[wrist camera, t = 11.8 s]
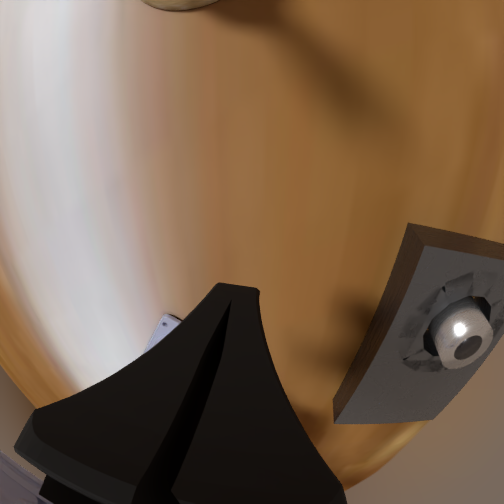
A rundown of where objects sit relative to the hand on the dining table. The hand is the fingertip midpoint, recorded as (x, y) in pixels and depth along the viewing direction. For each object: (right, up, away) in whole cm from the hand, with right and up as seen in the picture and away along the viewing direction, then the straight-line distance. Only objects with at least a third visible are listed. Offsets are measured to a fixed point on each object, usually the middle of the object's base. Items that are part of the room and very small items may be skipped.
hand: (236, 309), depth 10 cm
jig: (+16, -6, +12) cm, 20 cm away
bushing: (+16, -2, +10) cm, 19 cm away
